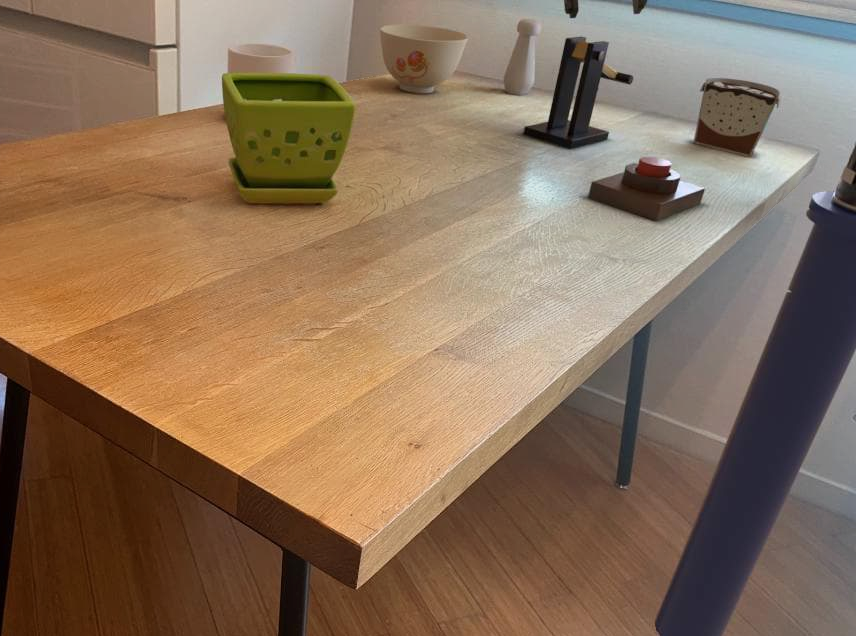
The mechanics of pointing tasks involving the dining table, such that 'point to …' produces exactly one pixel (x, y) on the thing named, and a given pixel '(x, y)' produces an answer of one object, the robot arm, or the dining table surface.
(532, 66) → the salt shaker
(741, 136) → the food container
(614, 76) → the lever
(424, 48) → the bowl
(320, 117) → the flower pot
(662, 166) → the button
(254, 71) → the mug
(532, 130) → the lock bracket
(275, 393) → the dining table surface
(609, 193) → the block
